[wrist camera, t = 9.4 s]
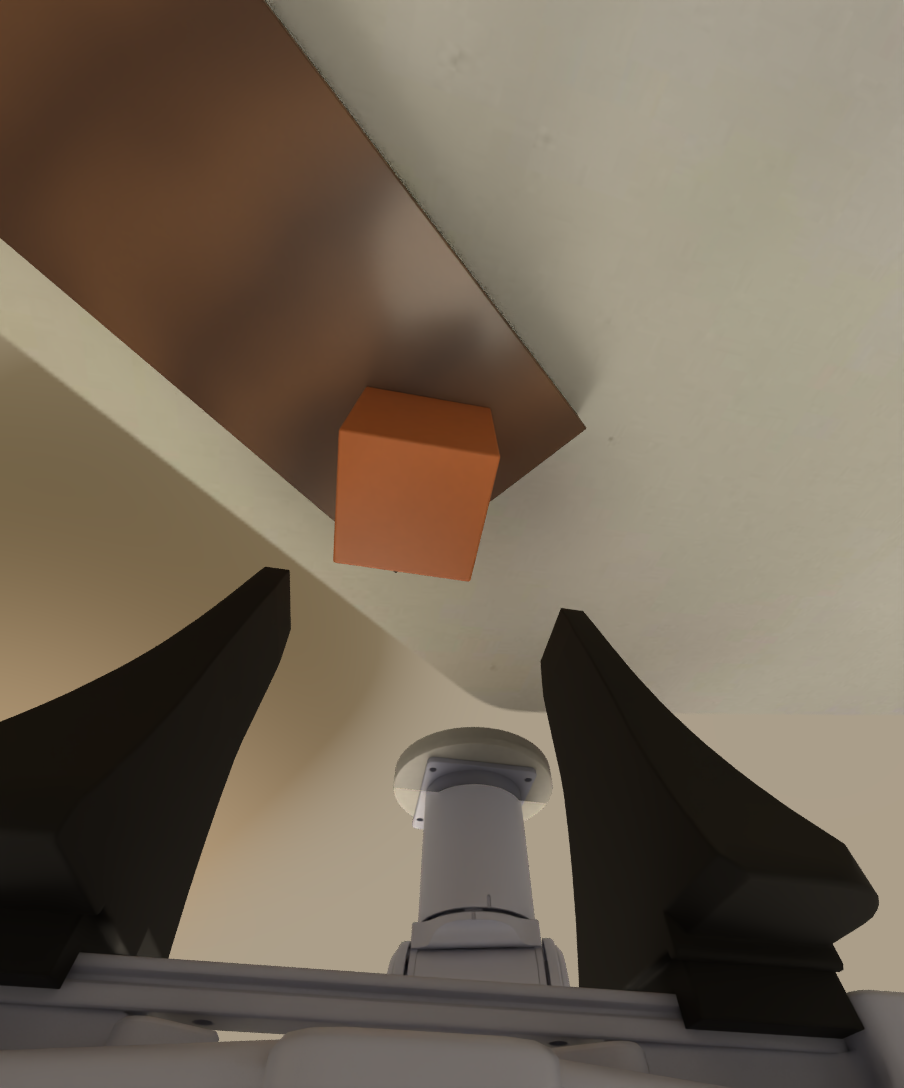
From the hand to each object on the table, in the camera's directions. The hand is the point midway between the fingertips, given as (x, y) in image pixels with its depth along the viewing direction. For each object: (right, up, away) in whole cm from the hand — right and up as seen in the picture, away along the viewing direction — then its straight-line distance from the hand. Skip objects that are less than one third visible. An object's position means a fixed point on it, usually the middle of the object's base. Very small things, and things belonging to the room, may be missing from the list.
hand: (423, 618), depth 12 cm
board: (-5, +11, +4) cm, 12 cm away
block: (0, +5, +5) cm, 7 cm away
